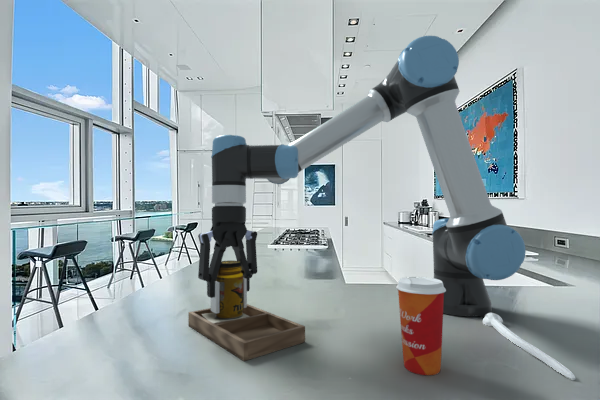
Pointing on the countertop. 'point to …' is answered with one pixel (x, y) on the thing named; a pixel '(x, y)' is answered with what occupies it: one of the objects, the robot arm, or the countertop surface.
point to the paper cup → (421, 323)
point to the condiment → (229, 293)
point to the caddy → (249, 332)
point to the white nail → (525, 344)
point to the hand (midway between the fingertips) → (229, 308)
